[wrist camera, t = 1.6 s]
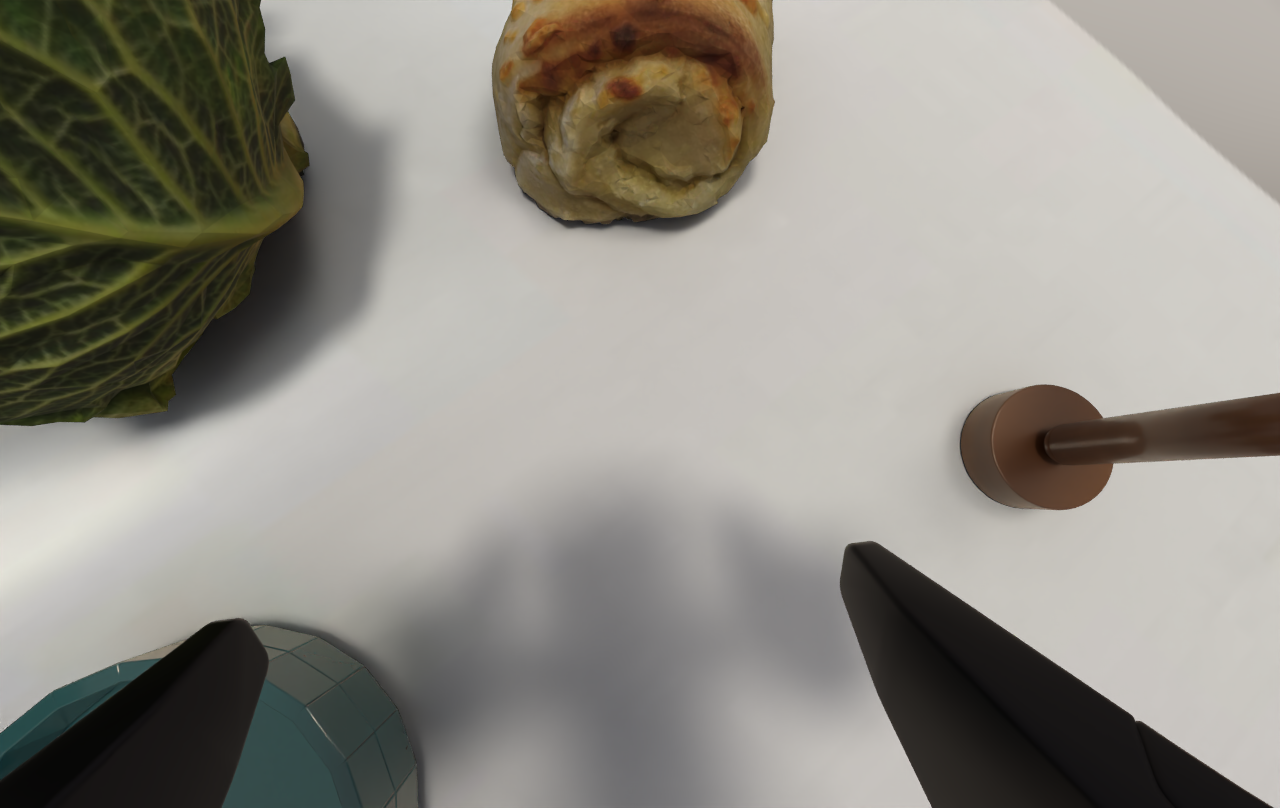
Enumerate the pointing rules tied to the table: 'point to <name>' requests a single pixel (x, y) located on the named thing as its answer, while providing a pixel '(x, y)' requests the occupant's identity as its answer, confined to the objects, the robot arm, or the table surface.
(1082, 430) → the rounded top peg stand
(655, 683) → the table surface
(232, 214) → the vegetable
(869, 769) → the table surface
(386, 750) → the bowl
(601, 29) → the pastry
